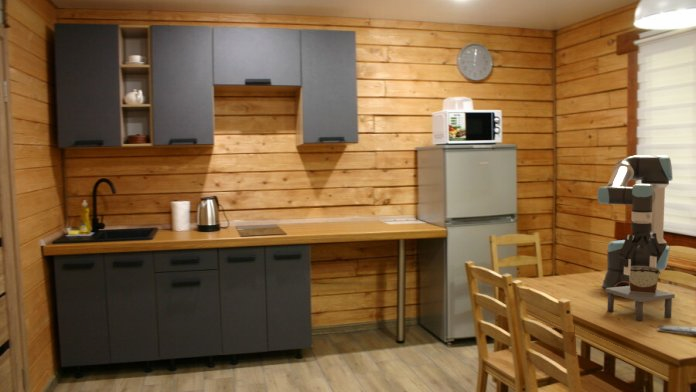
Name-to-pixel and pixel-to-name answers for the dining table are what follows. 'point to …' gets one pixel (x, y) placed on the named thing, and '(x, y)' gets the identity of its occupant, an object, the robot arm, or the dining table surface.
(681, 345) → the dining table surface
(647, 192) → the robot arm
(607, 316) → the dining table surface
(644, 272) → the food container
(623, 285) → the pottery mug
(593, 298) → the dining table surface
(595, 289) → the dining table surface
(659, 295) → the small gray table
